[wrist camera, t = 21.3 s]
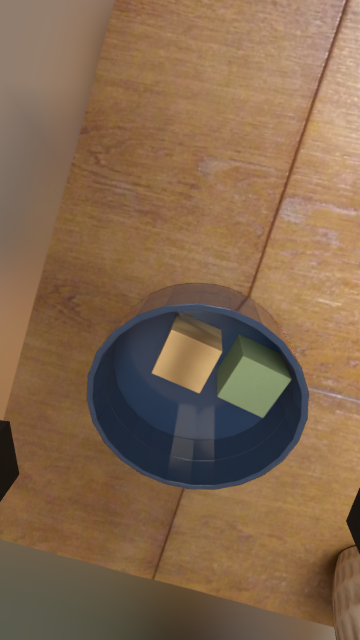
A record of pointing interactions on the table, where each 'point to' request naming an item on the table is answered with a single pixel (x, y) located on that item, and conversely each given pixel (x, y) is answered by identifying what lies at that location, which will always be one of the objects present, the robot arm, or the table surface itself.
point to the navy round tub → (191, 395)
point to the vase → (347, 595)
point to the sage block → (252, 376)
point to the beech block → (189, 352)
